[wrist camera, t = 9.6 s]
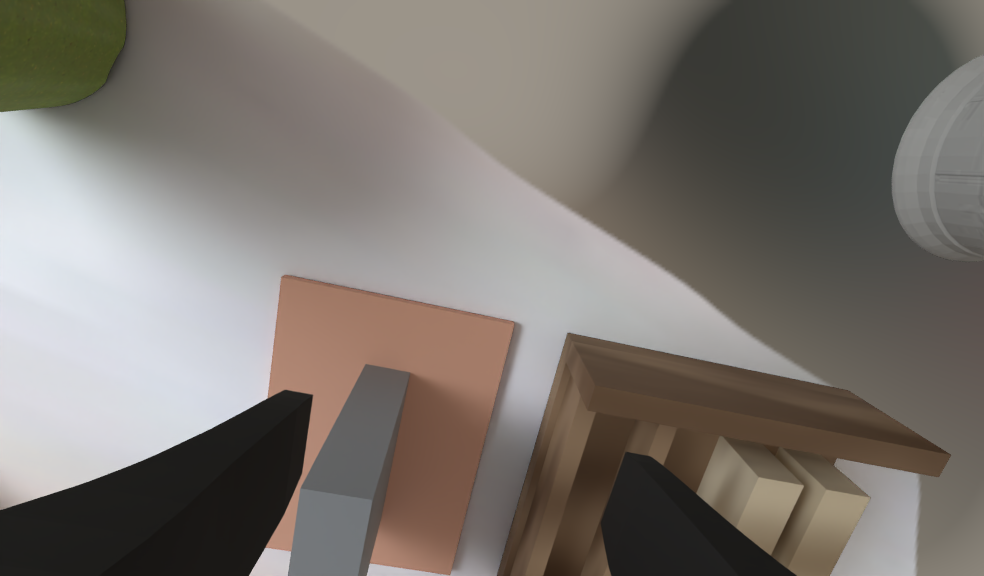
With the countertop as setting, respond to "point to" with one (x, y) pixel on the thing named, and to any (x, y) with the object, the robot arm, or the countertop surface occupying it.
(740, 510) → the birch offcut
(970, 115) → the glass holder
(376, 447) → the gray block
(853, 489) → the birch offcut
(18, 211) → the countertop surface
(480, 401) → the terracotta mat
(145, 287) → the countertop surface
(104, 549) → the robot arm
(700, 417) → the walnut rack
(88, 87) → the plant pot
